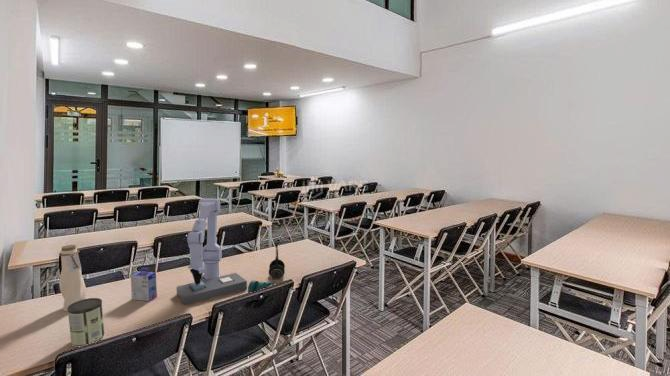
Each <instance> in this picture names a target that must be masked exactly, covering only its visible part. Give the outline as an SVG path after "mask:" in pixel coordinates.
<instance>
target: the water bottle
mask: <svg viewBox="0 0 670 376" xmlns="http://www.w3.org/2000/svg"><path fill="white" fill-rule="evenodd" d="M80 251H81V250H79V249H77V247H76V245H75V244H67V245H64V246H61V250H60V252H59V253H58V255H59V256H60V260H61V272H60V275H59V284H58V286H59V291H60V294H61V296H62V297H63V299H64V300H63V308H62V309H63V311H64V312H68V310H67V308H68V306H69V305H71V304H73V303H75V302H77V301H80V300H84V299H87V288H86V284H85V281H84V278H83V275H82V265H81V261H80V256H79V253H80Z"/></svg>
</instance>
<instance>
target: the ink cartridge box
mask: <svg viewBox="0 0 670 376" xmlns="http://www.w3.org/2000/svg"><path fill="white" fill-rule="evenodd" d="M130 286H131V287H130V289H131V300H135V301H137V300H138V301H144V302H149V301H153V300H155V299H156V298H157V297H158V293H157V292H158V291H157V289H158V288H157V272H153V271H149V267H145V266H143V267H141V268H140V270H139V271H136V272H134V273H132V274H130Z"/></svg>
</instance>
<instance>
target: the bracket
mask: <svg viewBox="0 0 670 376" xmlns="http://www.w3.org/2000/svg"><path fill="white" fill-rule="evenodd" d="M274 284H276V285H277V282H275V281H270V280H269V281H259V280H254V279H253V280H251V281H250V282H249V284H248V285H247V294H248V293H250V292H254V291H258V290H260V289H263V288H267V287H269V286H271V285H274Z"/></svg>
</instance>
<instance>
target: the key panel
mask: <svg viewBox="0 0 670 376" xmlns="http://www.w3.org/2000/svg"><path fill="white" fill-rule="evenodd" d="M226 277H230V278H231V279H232V280H233V282H229V283H225V284H221V283H220V279H222V278H226ZM201 281H202V282H203V283H204V284H205V289H201V290H197V291H192V290H191V283H192V282H191V283H186V284H181V285H178V286H176V295H177V296H178V298H179V300H180V301H181V302H182V303H183V305H184V306H187V305H190V304H191V305H192V304H195V303H198V302H202V301H206V300H210V299H212V298H213V299H214V298H217V297H221V296H225V295H228V294H232V293H235V292H239V291H243V290H248V281H247V280H246V279H245V278H243V276H241V275H240V274H238V273H237V272H234V273H233V272H232V273H230V274H225V275H221V276H220V277H216V278H211V279H207V280H206V279H204V280H201ZM193 283H195V282H193Z"/></svg>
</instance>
